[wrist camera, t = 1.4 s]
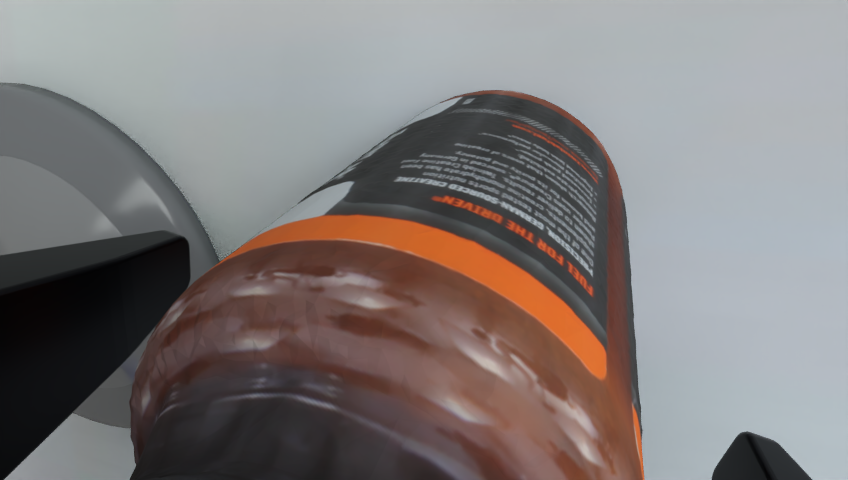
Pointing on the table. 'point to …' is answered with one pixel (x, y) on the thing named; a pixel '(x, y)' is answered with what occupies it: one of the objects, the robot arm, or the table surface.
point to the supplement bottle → (414, 319)
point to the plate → (85, 200)
